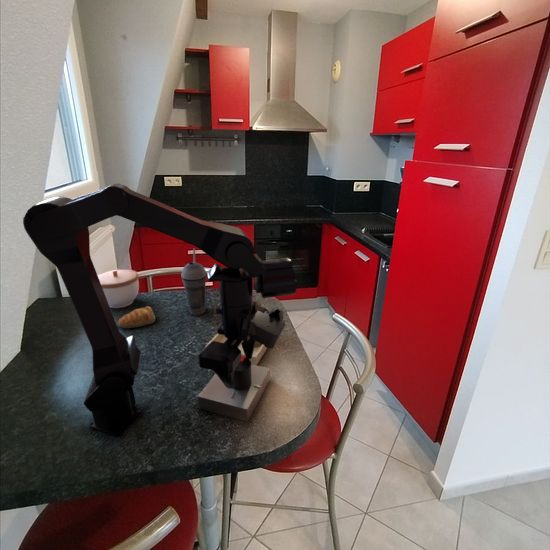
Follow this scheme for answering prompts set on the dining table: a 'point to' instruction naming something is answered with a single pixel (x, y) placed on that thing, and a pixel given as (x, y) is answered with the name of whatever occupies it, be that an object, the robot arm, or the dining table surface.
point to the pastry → (137, 318)
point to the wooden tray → (257, 351)
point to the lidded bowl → (119, 287)
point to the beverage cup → (194, 286)
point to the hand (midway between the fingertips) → (239, 372)
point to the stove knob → (243, 375)
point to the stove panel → (234, 395)
